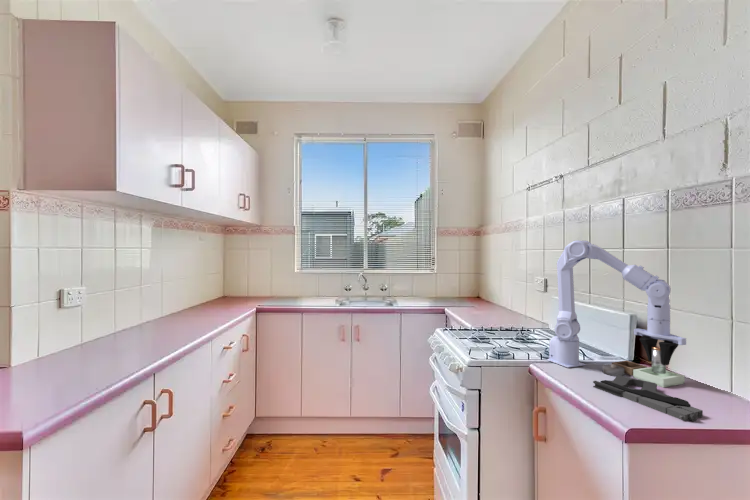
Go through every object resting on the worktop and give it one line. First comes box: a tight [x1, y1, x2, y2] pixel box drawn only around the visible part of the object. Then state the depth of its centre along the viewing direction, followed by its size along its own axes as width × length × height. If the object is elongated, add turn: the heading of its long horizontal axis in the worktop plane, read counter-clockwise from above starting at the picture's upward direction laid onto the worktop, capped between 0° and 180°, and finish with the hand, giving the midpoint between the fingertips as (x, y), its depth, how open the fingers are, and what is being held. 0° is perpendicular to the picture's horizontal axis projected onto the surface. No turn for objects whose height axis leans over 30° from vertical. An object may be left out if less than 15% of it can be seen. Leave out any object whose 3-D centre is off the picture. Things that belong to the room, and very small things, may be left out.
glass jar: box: [651, 345, 667, 374], centre depth 118 cm, size 4×4×8 cm
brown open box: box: [602, 360, 648, 377], centre depth 126 cm, size 7×14×3 cm, turn 109°
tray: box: [632, 366, 685, 388], centre depth 118 cm, size 9×9×2 cm
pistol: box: [592, 375, 704, 423], centre depth 104 cm, size 2×26×15 cm
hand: (658, 362), depth 118 cm, fingers closed on glass jar, 4 cm apart
